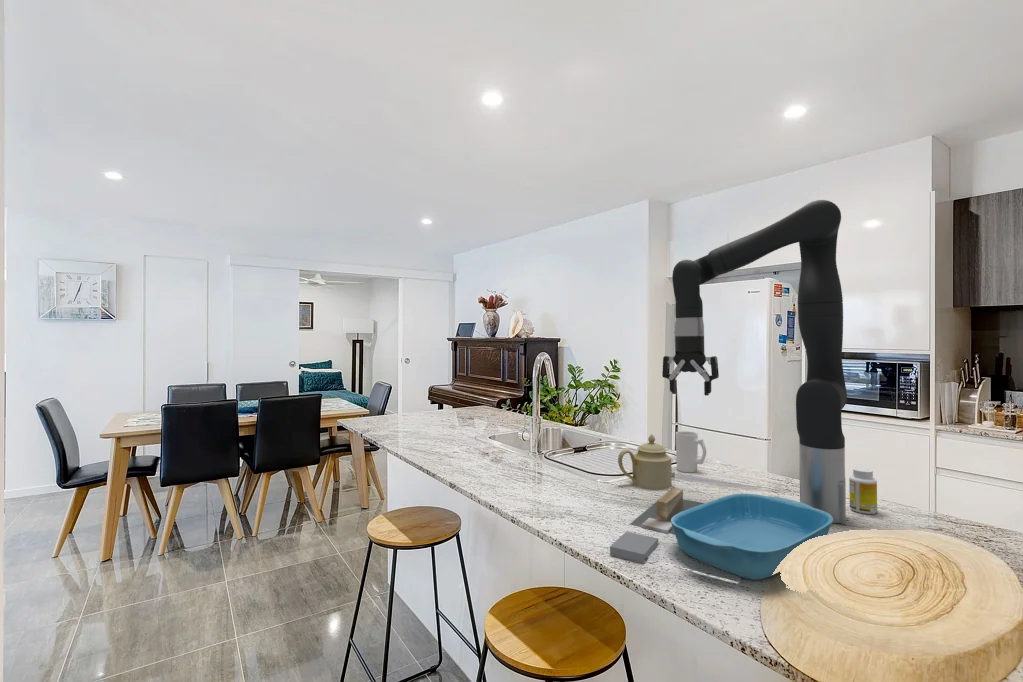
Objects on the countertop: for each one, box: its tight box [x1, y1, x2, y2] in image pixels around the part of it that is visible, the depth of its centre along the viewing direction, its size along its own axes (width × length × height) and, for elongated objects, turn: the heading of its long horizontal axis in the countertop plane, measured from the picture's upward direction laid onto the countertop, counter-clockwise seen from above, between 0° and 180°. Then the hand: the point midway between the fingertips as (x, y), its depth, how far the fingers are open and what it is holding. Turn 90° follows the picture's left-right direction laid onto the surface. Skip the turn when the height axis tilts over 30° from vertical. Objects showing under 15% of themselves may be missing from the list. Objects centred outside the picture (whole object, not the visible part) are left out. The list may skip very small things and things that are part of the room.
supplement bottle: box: [848, 467, 878, 515], centre depth 121 cm, size 6×6×10 cm
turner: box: [640, 487, 684, 534], centre depth 117 cm, size 6×17×5 cm, turn 144°
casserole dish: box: [671, 493, 833, 581], centre depth 101 cm, size 37×22×7 cm, turn 127°
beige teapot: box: [617, 433, 673, 491], centre depth 143 cm, size 15×11×15 cm
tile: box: [609, 531, 659, 565], centre depth 101 cm, size 7×2×9 cm
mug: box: [675, 430, 707, 474], centre depth 158 cm, size 10×7×12 cm, turn 39°
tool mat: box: [629, 498, 705, 536], centre depth 120 cm, size 12×24×1 cm, turn 144°
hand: (690, 394), depth 133 cm, fingers open, 8 cm apart
